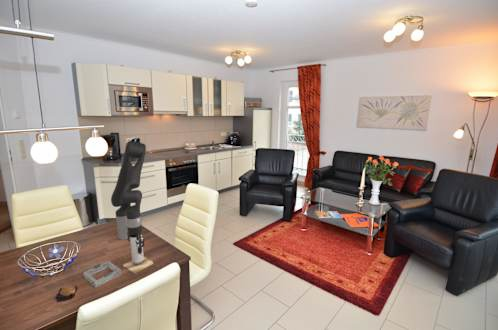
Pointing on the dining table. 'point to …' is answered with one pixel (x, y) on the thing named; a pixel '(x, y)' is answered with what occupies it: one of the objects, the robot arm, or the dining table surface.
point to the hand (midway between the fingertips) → (136, 250)
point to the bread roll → (66, 293)
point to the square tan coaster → (137, 265)
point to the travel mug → (136, 250)
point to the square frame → (106, 277)
